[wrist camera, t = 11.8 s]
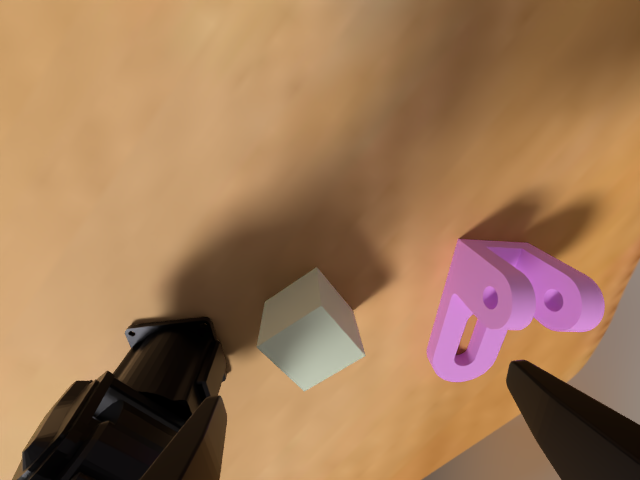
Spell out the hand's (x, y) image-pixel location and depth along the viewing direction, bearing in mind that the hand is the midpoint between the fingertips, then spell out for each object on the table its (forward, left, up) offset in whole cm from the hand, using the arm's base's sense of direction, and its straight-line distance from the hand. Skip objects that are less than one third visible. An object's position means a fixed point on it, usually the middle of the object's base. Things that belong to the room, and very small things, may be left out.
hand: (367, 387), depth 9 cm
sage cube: (-2, -6, -13) cm, 15 cm away
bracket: (+11, -8, -13) cm, 19 cm away
